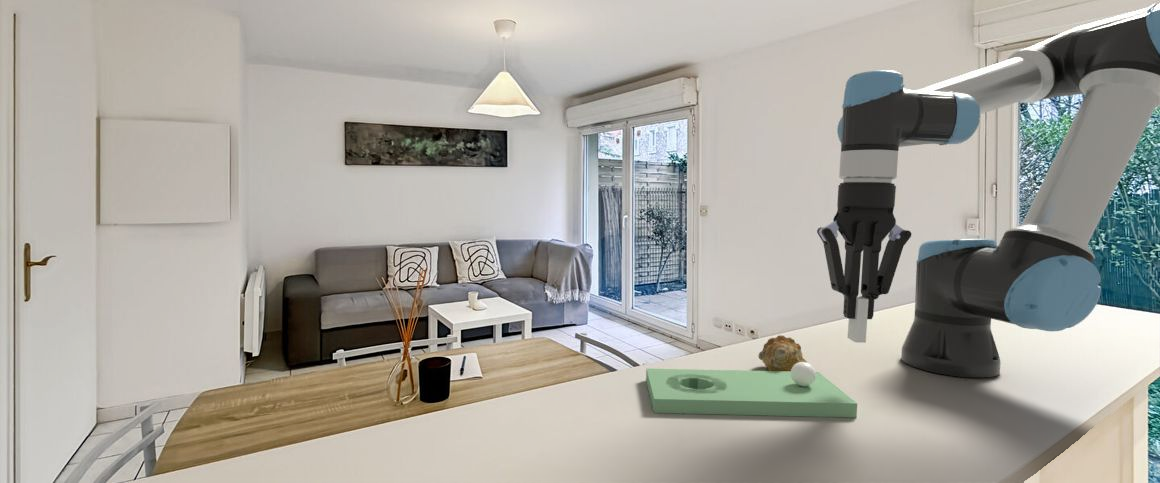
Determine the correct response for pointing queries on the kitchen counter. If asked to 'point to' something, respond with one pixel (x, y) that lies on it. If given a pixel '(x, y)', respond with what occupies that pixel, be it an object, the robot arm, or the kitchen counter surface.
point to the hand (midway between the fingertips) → (856, 340)
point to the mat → (745, 393)
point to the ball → (803, 374)
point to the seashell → (781, 354)
